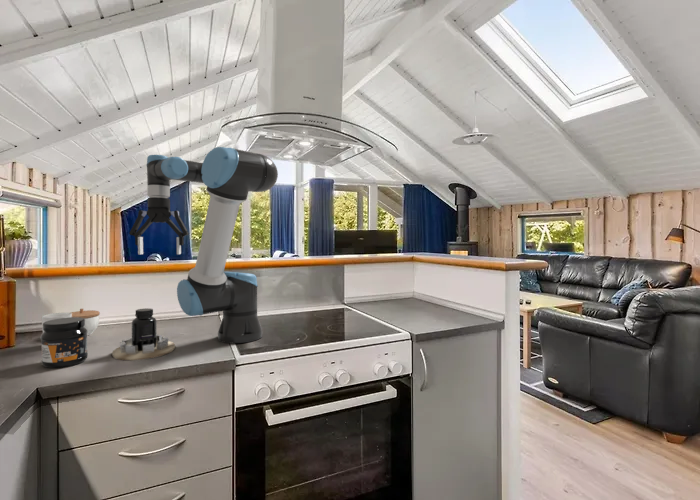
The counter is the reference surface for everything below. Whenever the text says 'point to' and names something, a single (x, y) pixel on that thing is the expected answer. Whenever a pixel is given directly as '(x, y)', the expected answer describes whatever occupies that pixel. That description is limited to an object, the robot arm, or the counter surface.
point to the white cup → (55, 317)
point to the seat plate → (141, 356)
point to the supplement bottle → (144, 328)
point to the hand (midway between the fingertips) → (159, 254)
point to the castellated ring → (143, 346)
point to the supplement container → (64, 342)
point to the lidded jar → (88, 319)
